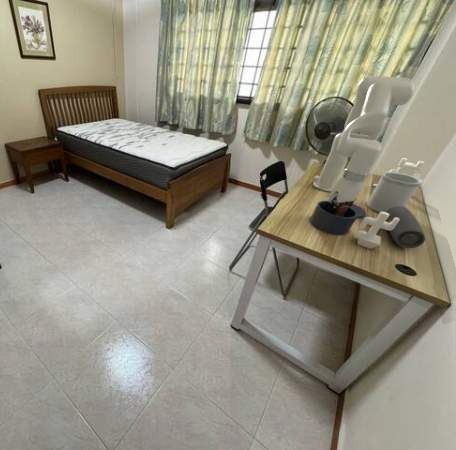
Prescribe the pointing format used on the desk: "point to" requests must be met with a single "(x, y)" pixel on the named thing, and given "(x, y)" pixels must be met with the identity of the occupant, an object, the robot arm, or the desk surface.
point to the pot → (332, 219)
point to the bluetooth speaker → (405, 228)
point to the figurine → (374, 229)
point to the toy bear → (341, 209)
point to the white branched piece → (408, 168)
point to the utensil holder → (393, 191)
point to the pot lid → (358, 209)
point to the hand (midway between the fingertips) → (334, 213)
